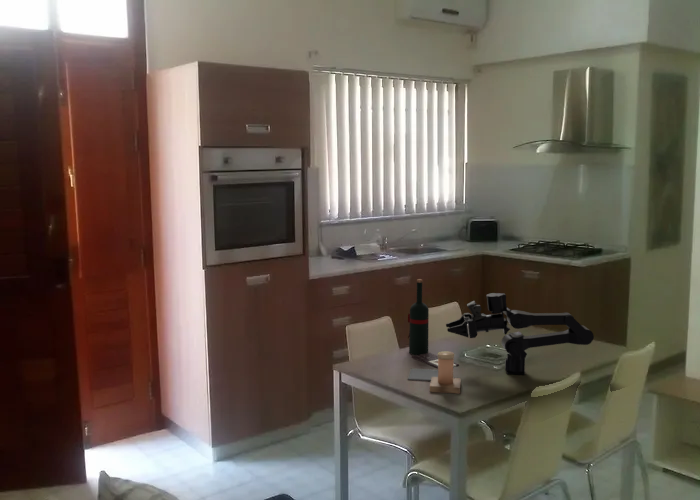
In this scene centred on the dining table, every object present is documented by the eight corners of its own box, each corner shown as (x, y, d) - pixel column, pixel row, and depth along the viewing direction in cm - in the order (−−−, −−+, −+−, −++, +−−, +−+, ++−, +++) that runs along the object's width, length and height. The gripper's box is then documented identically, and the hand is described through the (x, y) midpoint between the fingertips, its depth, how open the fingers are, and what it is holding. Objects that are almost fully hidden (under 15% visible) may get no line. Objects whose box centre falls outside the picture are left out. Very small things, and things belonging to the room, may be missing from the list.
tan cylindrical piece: (454, 380, 232) (454, 351, 231) (453, 385, 227) (454, 356, 225) (437, 379, 233) (438, 351, 232) (436, 384, 228) (437, 355, 226)
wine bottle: (416, 347, 280) (417, 276, 276) (432, 353, 272) (433, 279, 268) (401, 350, 275) (402, 278, 272) (417, 356, 267) (418, 281, 263)
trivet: (460, 383, 234) (460, 378, 234) (459, 393, 224) (459, 387, 224) (431, 382, 236) (431, 376, 236) (429, 391, 226) (429, 386, 226)
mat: (449, 371, 248) (449, 370, 248) (447, 382, 236) (447, 380, 236) (411, 369, 250) (411, 368, 250) (407, 379, 238) (407, 378, 238)
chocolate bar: (429, 352, 270) (458, 364, 255) (429, 355, 270) (458, 366, 255) (411, 356, 266) (440, 368, 250) (411, 358, 266) (439, 370, 250)
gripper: (484, 297, 254) (442, 302, 255) (489, 304, 235) (445, 310, 237) (487, 326, 254) (446, 331, 256) (493, 335, 236) (449, 341, 237)
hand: (446, 327), depth 246 cm, fingers open, 9 cm apart
